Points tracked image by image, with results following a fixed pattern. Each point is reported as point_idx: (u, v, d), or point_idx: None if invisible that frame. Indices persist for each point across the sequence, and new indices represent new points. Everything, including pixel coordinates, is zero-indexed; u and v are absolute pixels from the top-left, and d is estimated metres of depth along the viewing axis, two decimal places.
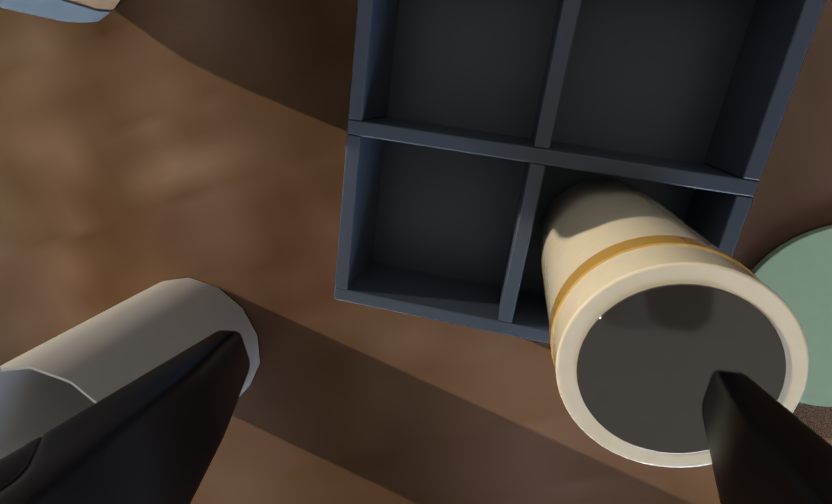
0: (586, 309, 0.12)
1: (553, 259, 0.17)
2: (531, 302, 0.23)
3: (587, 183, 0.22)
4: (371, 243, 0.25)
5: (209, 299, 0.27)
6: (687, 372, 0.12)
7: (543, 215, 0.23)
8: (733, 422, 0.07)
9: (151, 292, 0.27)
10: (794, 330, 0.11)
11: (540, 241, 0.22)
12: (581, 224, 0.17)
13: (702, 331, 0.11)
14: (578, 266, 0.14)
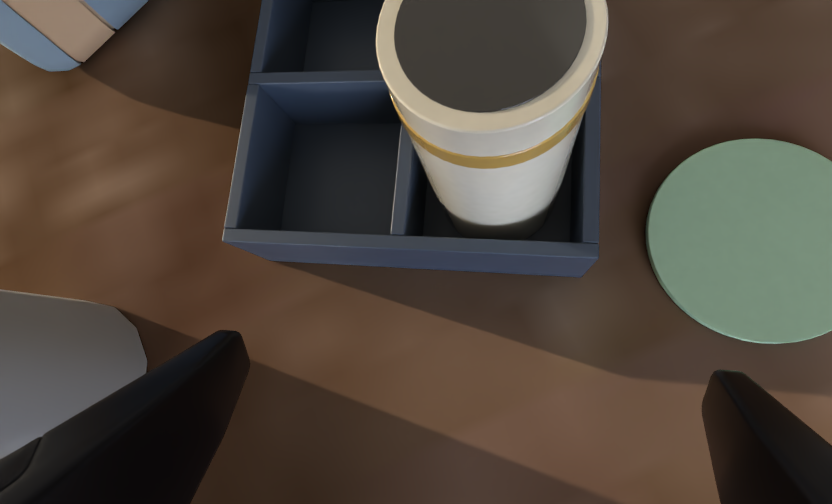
0: None
1: None
2: None
3: None
4: (276, 223, 0.24)
5: (99, 308, 0.25)
6: (496, 19, 0.12)
7: None
8: (733, 422, 0.07)
9: None
10: None
11: None
12: None
13: None
14: None
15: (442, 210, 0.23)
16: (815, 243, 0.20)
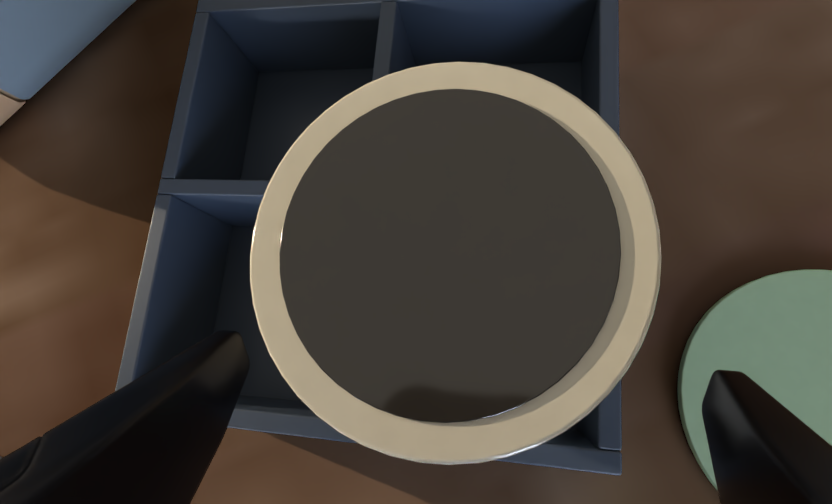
0: (286, 162, 0.07)
1: None
2: None
3: None
4: None
5: None
6: (455, 235, 0.07)
7: None
8: (733, 422, 0.07)
9: None
10: (599, 129, 0.07)
11: None
12: None
13: (461, 158, 0.07)
14: None
15: None
16: None
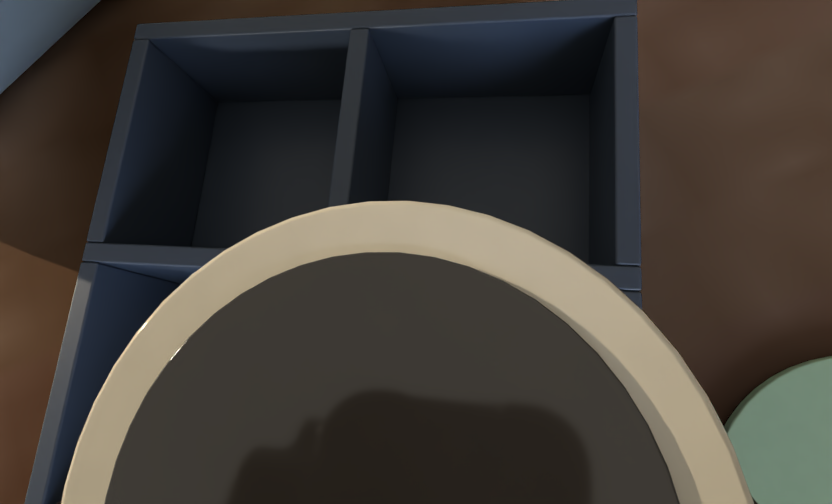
0: (126, 363, 0.04)
1: None
2: None
3: None
4: None
5: None
6: None
7: None
8: None
9: None
10: (648, 348, 0.04)
11: None
12: None
13: (405, 385, 0.04)
14: None
15: None
16: None
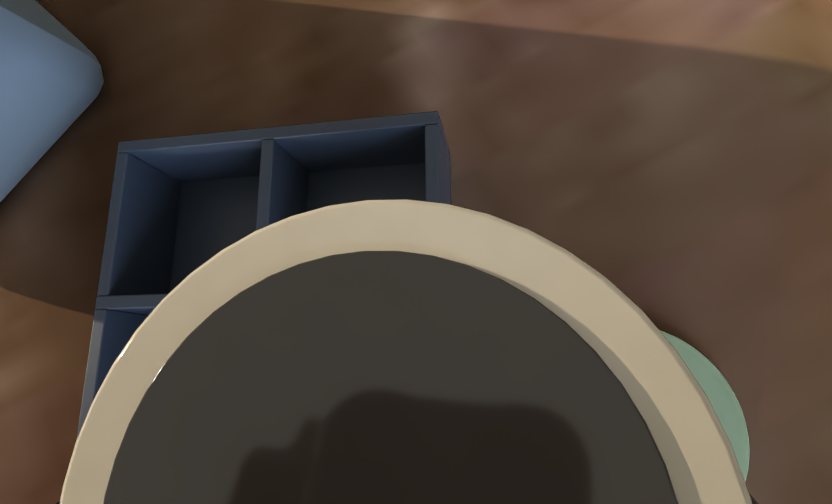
0: (124, 362, 0.04)
1: None
2: None
3: None
4: None
5: None
6: None
7: None
8: None
9: None
10: (647, 346, 0.04)
11: None
12: None
13: (404, 384, 0.04)
14: None
15: None
16: None
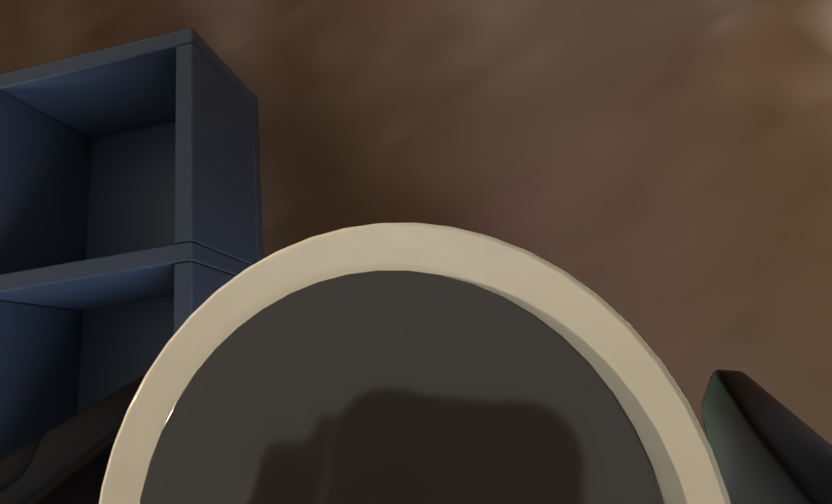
0: (156, 373, 0.05)
1: None
2: None
3: None
4: None
5: None
6: None
7: None
8: (733, 422, 0.07)
9: None
10: (635, 358, 0.04)
11: None
12: None
13: (415, 393, 0.04)
14: None
15: None
16: None
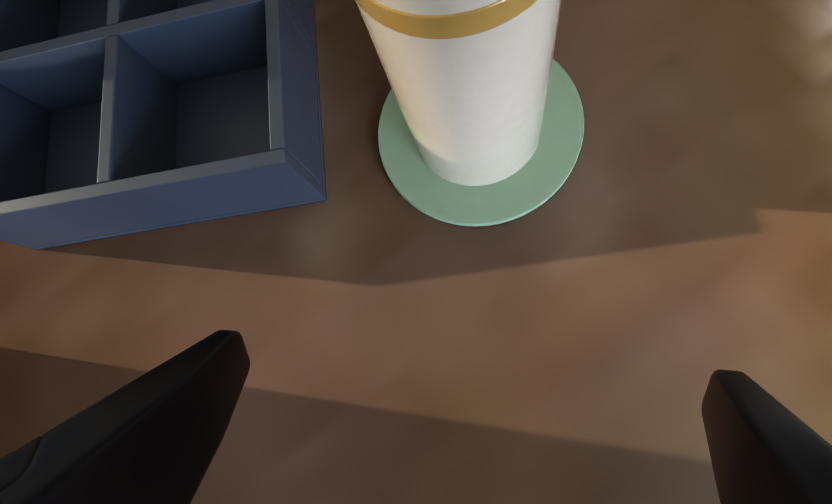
0: None
1: None
2: None
3: None
4: None
5: None
6: None
7: None
8: (733, 422, 0.07)
9: None
10: None
11: None
12: None
13: None
14: None
15: (416, 147, 0.21)
16: None
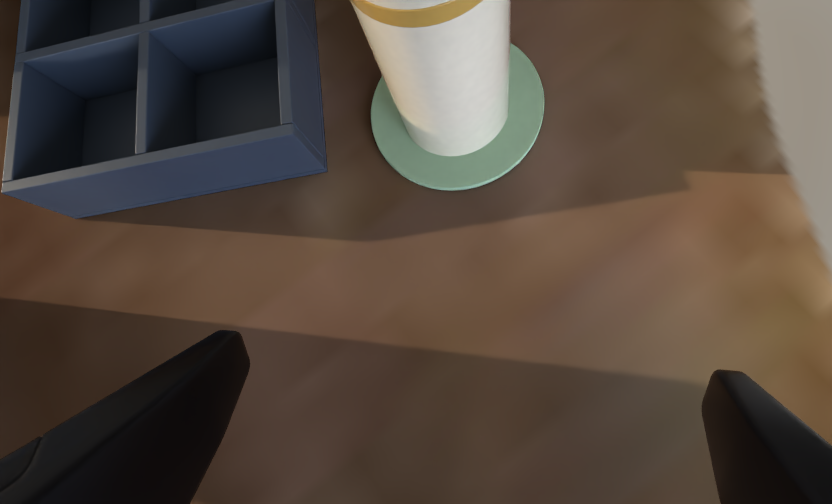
0: None
1: None
2: None
3: None
4: None
5: None
6: None
7: None
8: (733, 422, 0.07)
9: None
10: None
11: None
12: None
13: None
14: None
15: (403, 124, 0.25)
16: None
